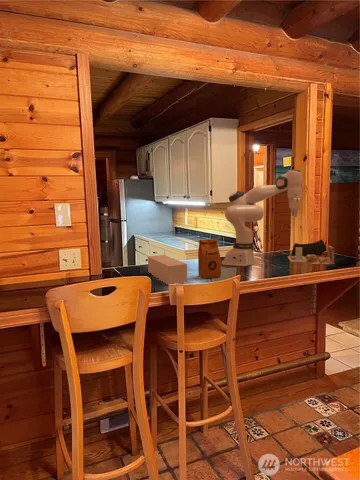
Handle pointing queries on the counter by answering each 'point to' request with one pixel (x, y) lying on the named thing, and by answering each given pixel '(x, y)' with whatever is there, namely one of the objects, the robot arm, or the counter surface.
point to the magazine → (310, 248)
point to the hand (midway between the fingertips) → (294, 216)
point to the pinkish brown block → (167, 269)
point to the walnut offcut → (311, 260)
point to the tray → (296, 260)
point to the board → (298, 253)
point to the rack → (326, 258)
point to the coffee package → (209, 259)
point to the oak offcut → (311, 256)
